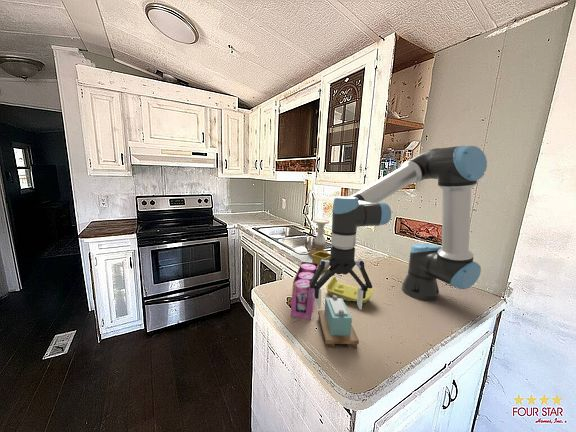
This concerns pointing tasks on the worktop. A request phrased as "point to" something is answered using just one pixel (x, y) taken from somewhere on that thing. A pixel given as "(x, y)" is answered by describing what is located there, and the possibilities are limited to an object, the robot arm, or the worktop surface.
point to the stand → (336, 339)
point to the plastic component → (346, 291)
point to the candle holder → (319, 237)
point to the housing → (337, 316)
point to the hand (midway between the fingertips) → (339, 307)
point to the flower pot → (318, 256)
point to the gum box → (303, 291)
